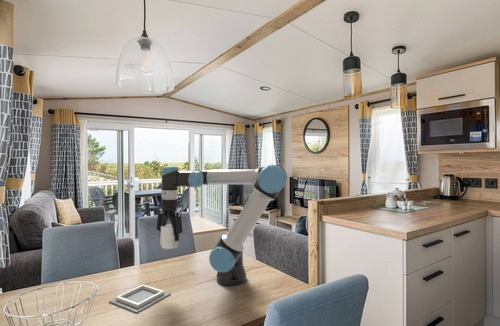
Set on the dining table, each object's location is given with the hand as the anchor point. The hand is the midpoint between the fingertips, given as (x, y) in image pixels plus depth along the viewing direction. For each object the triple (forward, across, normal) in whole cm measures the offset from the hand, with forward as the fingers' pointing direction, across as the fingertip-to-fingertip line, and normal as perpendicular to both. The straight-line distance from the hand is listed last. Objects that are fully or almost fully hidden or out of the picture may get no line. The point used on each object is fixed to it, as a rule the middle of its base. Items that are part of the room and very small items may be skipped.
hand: (168, 246), depth 134 cm
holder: (+20, -2, -14) cm, 24 cm away
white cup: (+1, 0, 0) cm, 1 cm away
